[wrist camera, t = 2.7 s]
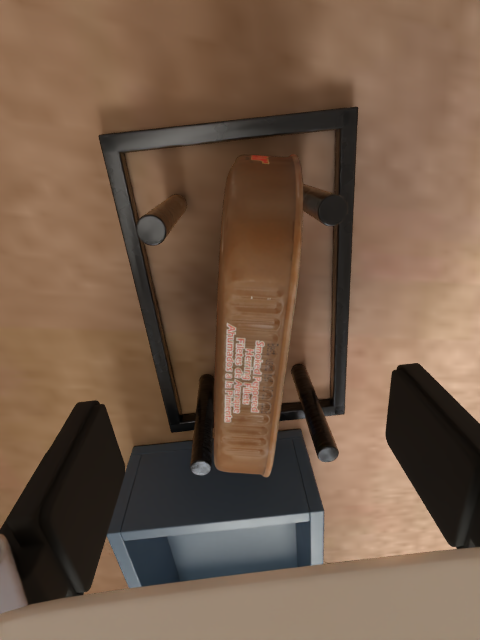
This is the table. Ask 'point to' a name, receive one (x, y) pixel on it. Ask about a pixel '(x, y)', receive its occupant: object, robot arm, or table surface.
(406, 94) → the table surface
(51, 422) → the table surface
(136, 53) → the table surface
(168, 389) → the rack
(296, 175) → the tin
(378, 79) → the table surface
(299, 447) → the open box
